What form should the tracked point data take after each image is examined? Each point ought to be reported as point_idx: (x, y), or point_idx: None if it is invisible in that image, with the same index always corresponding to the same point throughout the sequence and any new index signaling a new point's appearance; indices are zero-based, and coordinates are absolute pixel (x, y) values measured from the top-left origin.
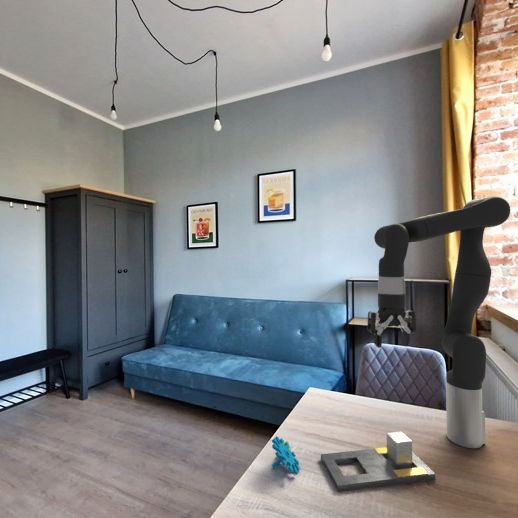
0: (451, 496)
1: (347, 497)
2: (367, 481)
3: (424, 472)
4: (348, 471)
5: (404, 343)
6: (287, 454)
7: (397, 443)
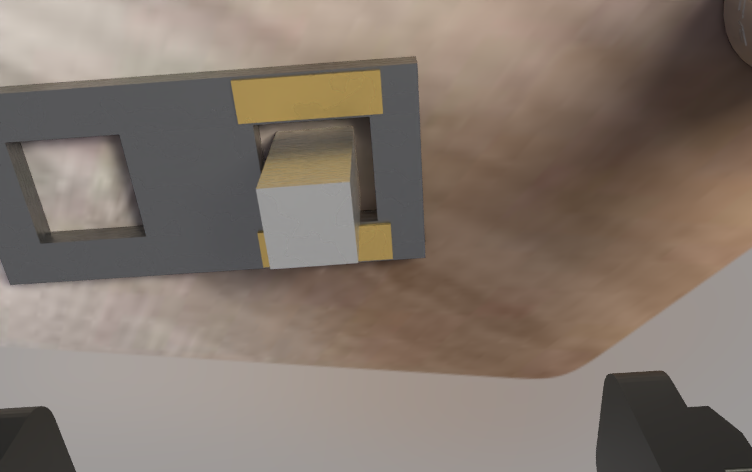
0: (424, 316)
1: (53, 295)
2: (130, 275)
3: (383, 253)
4: (79, 175)
5: (615, 467)
6: None
7: (276, 266)
